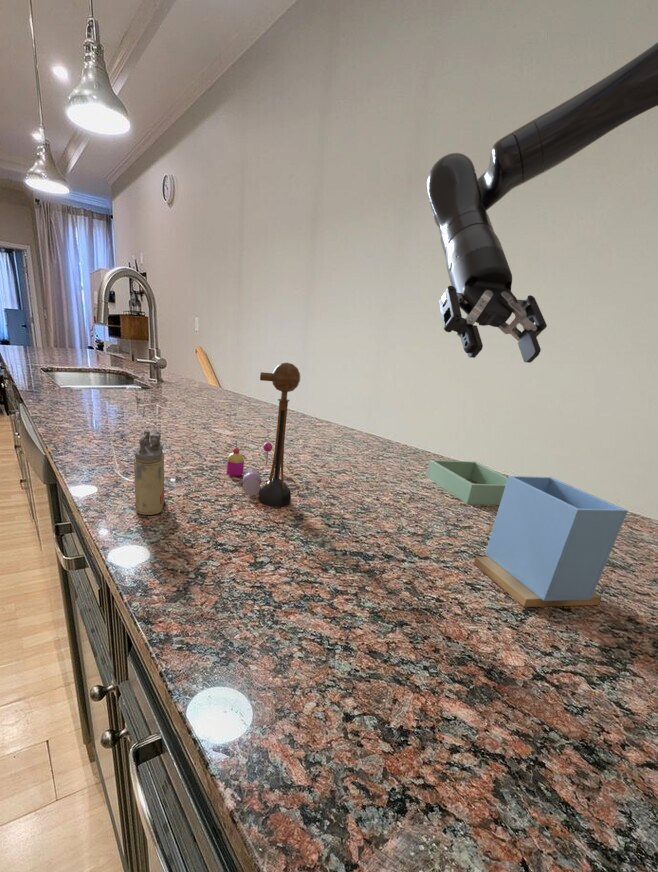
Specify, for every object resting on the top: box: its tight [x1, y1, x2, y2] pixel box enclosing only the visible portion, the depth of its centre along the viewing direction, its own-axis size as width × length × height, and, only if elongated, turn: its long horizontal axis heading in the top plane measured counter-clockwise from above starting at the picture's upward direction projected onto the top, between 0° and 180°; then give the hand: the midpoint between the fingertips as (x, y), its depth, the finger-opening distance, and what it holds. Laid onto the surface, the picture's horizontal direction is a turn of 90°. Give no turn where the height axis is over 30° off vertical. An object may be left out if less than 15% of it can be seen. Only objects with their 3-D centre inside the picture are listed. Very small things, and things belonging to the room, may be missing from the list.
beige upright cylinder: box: [133, 430, 166, 516], centre depth 60 cm, size 7×4×10 cm, turn 8°
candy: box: [226, 439, 273, 497], centre depth 76 cm, size 18×8×6 cm, turn 3°
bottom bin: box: [425, 459, 508, 506], centre depth 74 cm, size 9×13×5 cm
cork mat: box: [473, 556, 602, 608], centre depth 50 cm, size 9×9×1 cm
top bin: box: [485, 475, 629, 601], centre depth 48 cm, size 6×10×10 cm, turn 10°
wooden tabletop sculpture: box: [258, 362, 301, 508], centre depth 63 cm, size 6×5×20 cm
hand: (504, 356), depth 59 cm, fingers open, 8 cm apart
